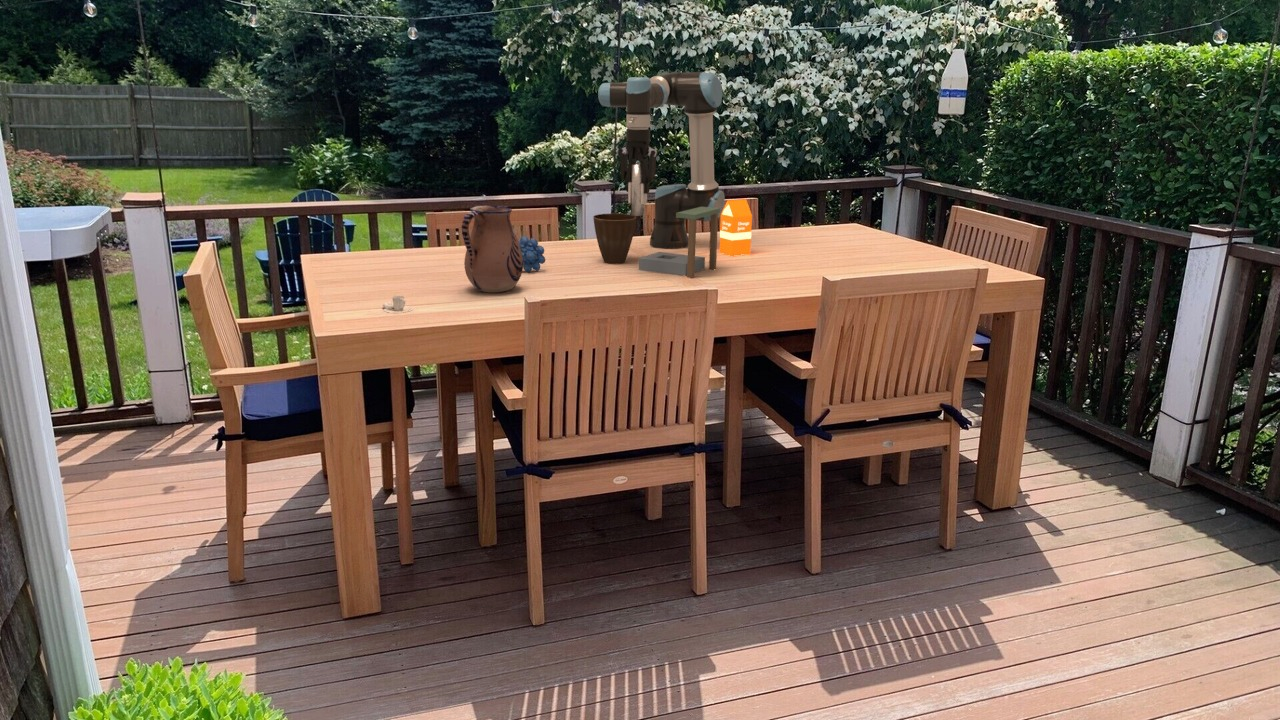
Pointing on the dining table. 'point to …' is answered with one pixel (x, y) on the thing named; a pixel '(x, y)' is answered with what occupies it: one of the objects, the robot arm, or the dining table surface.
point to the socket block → (669, 263)
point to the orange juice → (735, 228)
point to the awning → (692, 217)
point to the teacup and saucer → (396, 304)
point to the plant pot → (614, 236)
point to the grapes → (531, 254)
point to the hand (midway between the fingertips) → (637, 203)
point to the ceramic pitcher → (491, 249)
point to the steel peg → (636, 191)
